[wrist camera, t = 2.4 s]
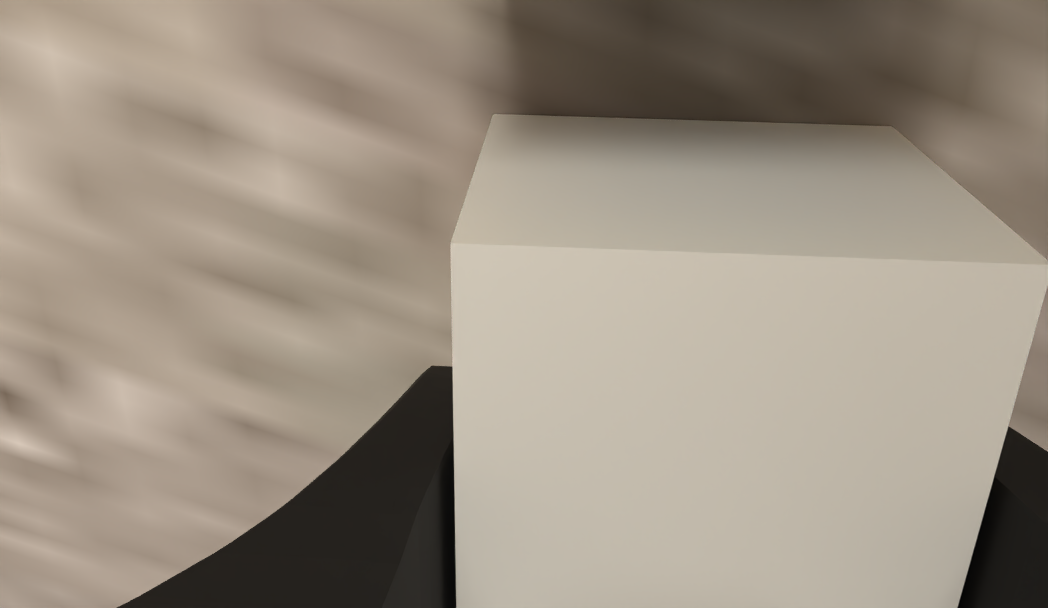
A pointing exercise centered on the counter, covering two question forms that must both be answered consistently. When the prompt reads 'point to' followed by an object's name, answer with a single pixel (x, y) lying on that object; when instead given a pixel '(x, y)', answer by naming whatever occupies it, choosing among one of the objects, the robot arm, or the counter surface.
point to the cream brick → (726, 366)
